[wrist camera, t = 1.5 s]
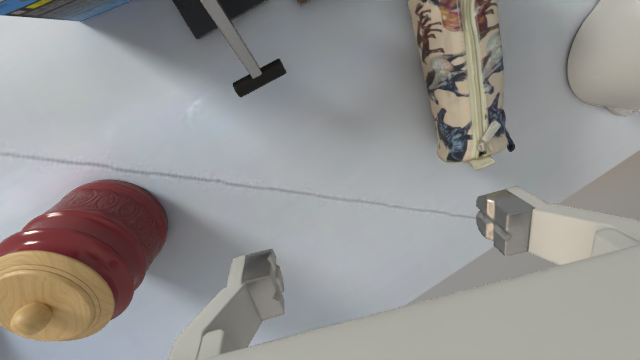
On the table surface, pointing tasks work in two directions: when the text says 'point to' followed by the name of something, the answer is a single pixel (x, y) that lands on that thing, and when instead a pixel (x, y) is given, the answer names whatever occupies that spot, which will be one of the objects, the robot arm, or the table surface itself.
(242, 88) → the lever
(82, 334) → the kitchen canister
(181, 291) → the table surface
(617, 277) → the robot arm
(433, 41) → the pencil case
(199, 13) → the bracket
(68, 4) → the tape cartridge
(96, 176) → the table surface
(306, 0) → the control block
